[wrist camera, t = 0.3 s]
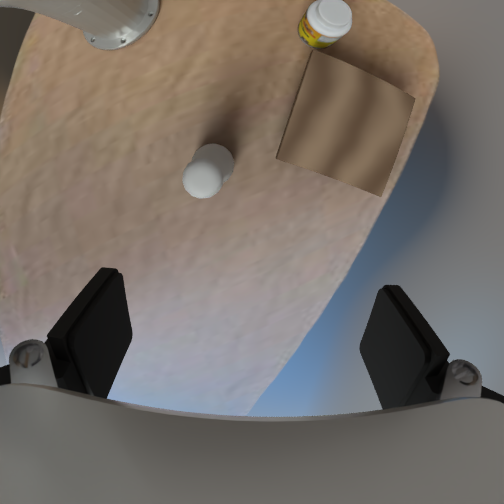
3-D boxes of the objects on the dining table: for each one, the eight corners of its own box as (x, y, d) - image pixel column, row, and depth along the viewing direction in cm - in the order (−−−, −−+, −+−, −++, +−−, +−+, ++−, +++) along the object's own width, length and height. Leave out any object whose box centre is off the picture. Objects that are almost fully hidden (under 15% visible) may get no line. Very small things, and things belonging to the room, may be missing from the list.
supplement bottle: (295, 15, 31) (309, -12, 22) (333, 19, 31) (356, -5, 22) (297, 48, 33) (312, 28, 24) (335, 51, 33) (361, 34, 24)
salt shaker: (188, 174, 41) (166, 197, 29) (201, 137, 39) (182, 144, 27) (226, 187, 42) (219, 215, 30) (240, 150, 40) (238, 163, 28)
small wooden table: (272, 153, 40) (276, 159, 35) (304, 58, 34) (313, 49, 29) (365, 186, 42) (381, 197, 37) (395, 99, 36) (415, 98, 31)
